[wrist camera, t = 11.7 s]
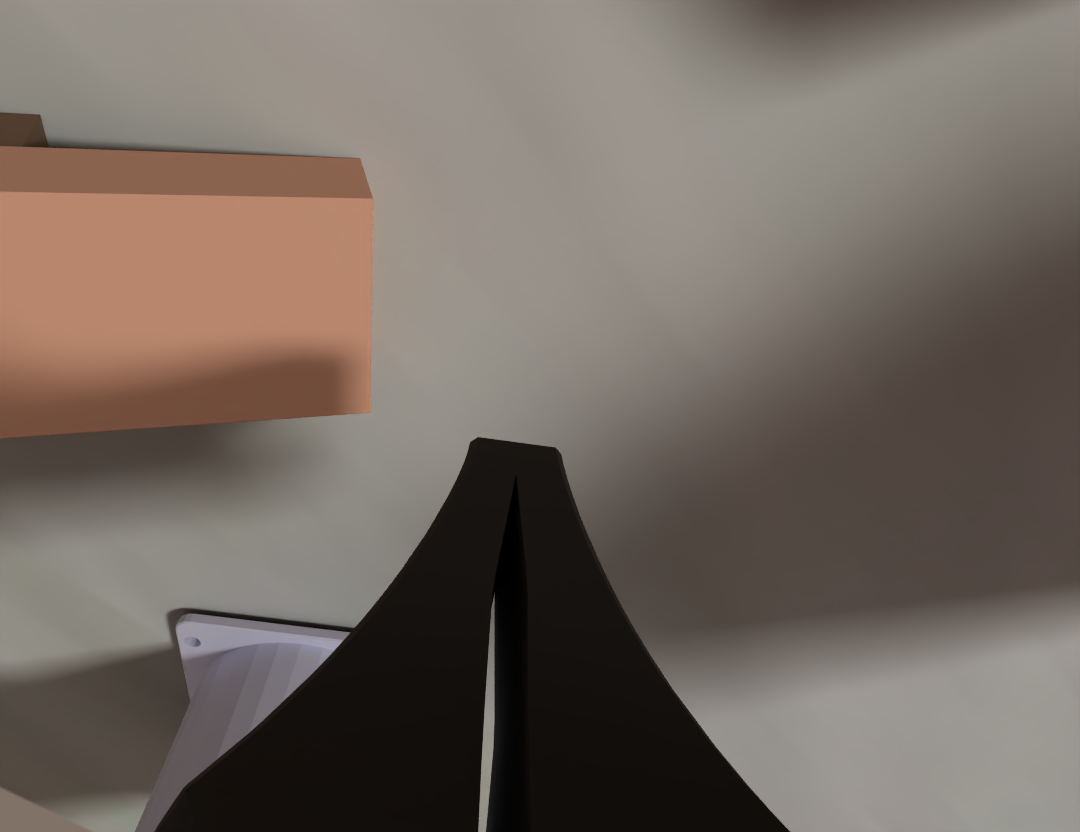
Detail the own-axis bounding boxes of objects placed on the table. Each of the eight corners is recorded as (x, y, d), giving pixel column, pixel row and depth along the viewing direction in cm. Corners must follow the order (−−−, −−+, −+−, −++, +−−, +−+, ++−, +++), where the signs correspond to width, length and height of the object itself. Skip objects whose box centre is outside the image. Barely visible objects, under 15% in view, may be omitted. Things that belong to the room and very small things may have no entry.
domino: (371, 412, 17) (-121, 446, 14) (359, 362, 18) (-88, 383, 16) (373, 198, 14) (-252, 186, 11) (359, 158, 15) (-196, 139, 13)
